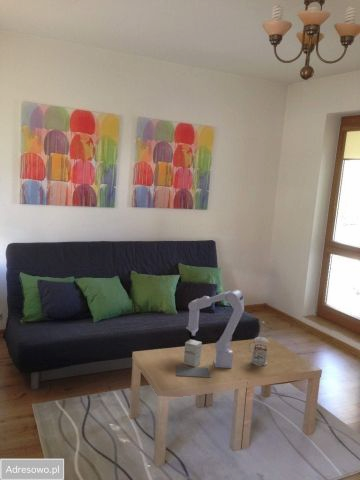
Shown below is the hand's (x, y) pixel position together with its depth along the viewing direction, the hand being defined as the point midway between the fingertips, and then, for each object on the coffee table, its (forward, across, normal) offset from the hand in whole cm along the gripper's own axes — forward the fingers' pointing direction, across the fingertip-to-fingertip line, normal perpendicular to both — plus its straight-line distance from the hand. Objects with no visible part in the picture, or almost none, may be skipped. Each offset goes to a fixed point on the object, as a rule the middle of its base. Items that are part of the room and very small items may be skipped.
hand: (191, 342), depth 246 cm
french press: (+9, +3, +39) cm, 40 cm away
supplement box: (+8, +10, 0) cm, 13 cm away
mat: (+8, +20, 0) cm, 22 cm away
